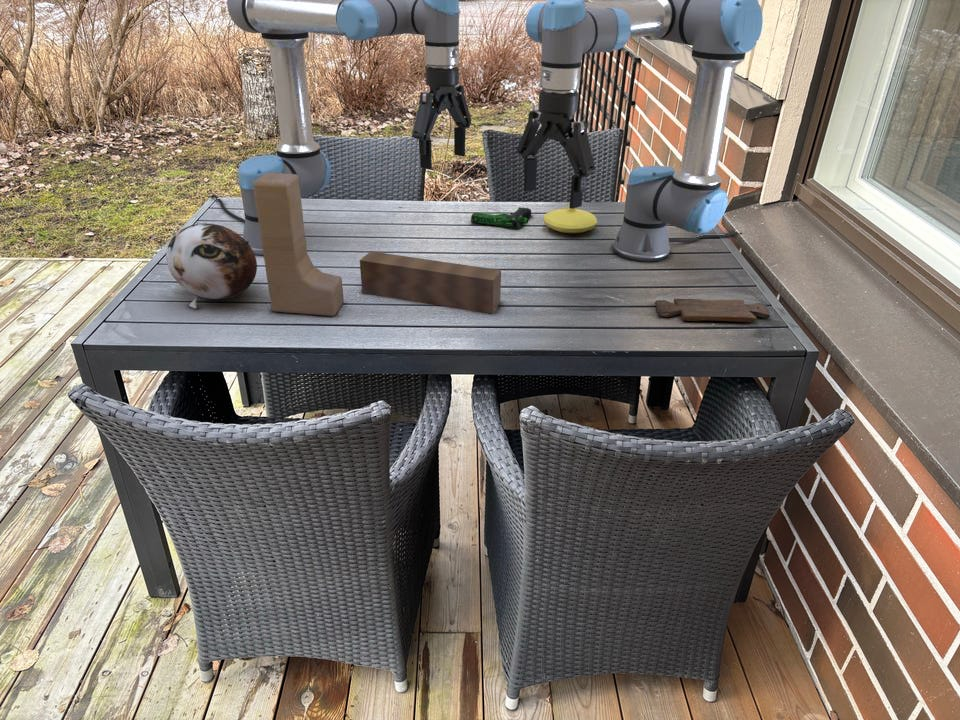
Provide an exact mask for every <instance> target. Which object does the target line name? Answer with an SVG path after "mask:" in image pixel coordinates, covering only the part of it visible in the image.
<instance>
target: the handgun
mask: <svg viewBox="0 0 960 720" xmlns="http://www.w3.org/2000/svg"><path fill="white" fill-rule="evenodd" d="M531 217H532V209H531V208H528V207H521V206H519V207H518V208H517V209H516V210H515V211H514V212H510V213H509V214H508V213H498V214H492V213H484V212H473V213H472V214H471V217H470V223H473V224H474V223H475V224H480V225H481V224H482V225H490V226H491V225H492V226H499V227H502V228H503V227H504V228H508V229H514V230H518V229H520V228H521V227H523V226H524V225H527V224H529V219H530V218H531Z"/></svg>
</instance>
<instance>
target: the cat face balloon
mask: <svg viewBox="0 0 960 720" xmlns="http://www.w3.org/2000/svg"><path fill="white" fill-rule="evenodd" d="M248 242H249V241H246V240H245V239H244V238H243V236H242V235H240V234H239V233H238V232H236V231H234V230H233V229H231V228H229V227H226V226H223V225H220V224H215V223H205V222H204V223H195V224H191V225H188V226H186V227H183V228H182V229H180V230H179V231H177V232H176V233H175V234H174V235H173V237H171V239H170V241H169V243H168V245H167V248H166V254H165V260H166V265H167V268H168V271H169V273H170V275H171V276H172V277H173V279H174V280H175V281H176V282H177V284H178V285H180V286H181V287H182V288H183V289H185V290H186V291H187V292H189V293H191V294H194V295H195V298H194V299H193V300H192V302H190V303H189V304H188V306H189V307H191V308H192V309H197V308H198V307H197V298H198V297H201V298H205V299H210V300H226V299H230V298H233V297H236V296H238V295H241V294H242V293H244V292H245V291H247V290H248V289H249V288H250V286H251V285H252V284H253V282H254V280H255V278H256V275H257V271H258V262H257V257H256V254H254V252H253V250H252V248H251V247H250V245H249V244H248Z"/></svg>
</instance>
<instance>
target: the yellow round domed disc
mask: <svg viewBox="0 0 960 720" xmlns="http://www.w3.org/2000/svg"><path fill="white" fill-rule="evenodd" d="M569 206H570V204H567V208H557V209H552V210H549V211H548V212H547V213H545V214H544V216H543V222H544V225H545V226H546V227H548V228H550V229H551V230H554V231H556V232H559V233H564V234H580V233H584V232H585V233H586V232H587V231H591V230H592V229H594V228H596V226H597V223H598V219H597V217H596V215H595V214H593V213H591V212H589V211H587V210H584V209H578V208H573V209H571V208H569Z"/></svg>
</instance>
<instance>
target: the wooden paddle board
mask: <svg viewBox="0 0 960 720" xmlns="http://www.w3.org/2000/svg"><path fill="white" fill-rule="evenodd" d="M654 304H655V308H656V312H657V314H658V316H659V317H661V318H669V317H674V316H678V315H680V316H681V319H682V321H685V322H699V321H715V322H716V321H721V322H741V323H754V322H756V321H757V319H758V318H763V319H769V318H770V315H771V314H770V311H769V309H768V307H767V305H766V303H764V302H756V303H753V304H747V305H746V304H745V300H744V299H700V298H673V302H671V301H668V300H666V299H657V300H655V301H654ZM757 317H758V318H757Z"/></svg>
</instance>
